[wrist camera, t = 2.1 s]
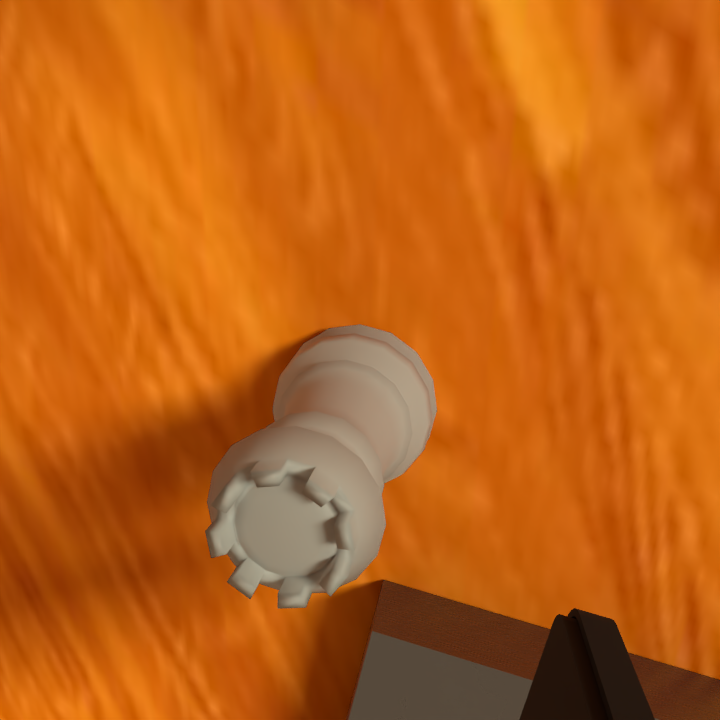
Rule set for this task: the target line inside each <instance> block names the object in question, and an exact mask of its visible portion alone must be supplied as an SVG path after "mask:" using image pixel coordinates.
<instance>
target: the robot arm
mask: <svg viewBox="0 0 720 720" xmlns="http://www.w3.org/2000/svg"><path fill="white" fill-rule="evenodd" d="M519 720H655V718H654V716H653V713H652V711H651V708H650V706H649V704H648V701H647V699H646V696H645V694H644V691H643V689H642V686H641V684H640V681H639V679H638V676H637V674H636V672H635V669H634V667H633V664H632V662H631V659H630V657H629V654H628V652H627V649H626V647H625V645H624V642H623V640H622V637H621V635H620V632H619V630H618V627H617V625H616V623H615V622H614V620H612V619H610V618H606V617H603V616H599V615H596V614H592V613H589V612H585V611H582V610H579V609H575V608H574V609H573V610H571V612H570V613H569V614H568V617H567V616H563V615H560V614H559V615H557V616H556V618H555V619H554V622H553V624H552V627H551V630H550V633H549V636H548V639H547V641H546V644H545V647H544V650H543V653H542V656H541V659H540V662H539V664H538V667H537V670H536V673H535V676H534V679H533V682H532V684H531V687H530V690H529V693H528V696H527V699H526V702H525V704H524V707H523V710H522V713H521V716H520V719H519Z"/></svg>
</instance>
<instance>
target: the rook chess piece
mask: <svg viewBox="0 0 720 720" xmlns="http://www.w3.org/2000/svg"><path fill="white" fill-rule="evenodd" d="M436 412H437V407H436V399H435V392H434V384H433V379H432V377H431V376H430V374H429V372H428V371H427V369H426V367H425V366H424V364H423V362H422V360H421V359H420V357H419V355H418V354H417V352H415V351H414V350H413V349H412V348H410V347H409V346H408V345H406V344H405V343H404V342H402V341H401V340H400V339H398V338H397V337H396V336H394V335H393V334H392V333H389V332H386V331H382V330H378V329H375V328H371V327H367V326H364V325H353V326H345V327H337V328H329V329H327V330H326V331H324V332H322V333H321V334H319V335H317V336H315V337H314V338H312V339H310V340H309V341H307V342H305V343H303V345H302V346H301V347H300V349H299V350H298V352H297V353H296V354H295V355H294V357H293V358H292V360H291V361H290V362H289V364H288V365H287V367H286V368H285V369H284V371H283V372H282V373H281V375H280V376H279V380H278V385H277V389H276V394H275V399H274V403H273V415H274V420H275V422H273V423H272V424H270V425H268V426H267V427H266V428H265V429H260V430H259V431H257V432H255V433H253V434H251V435H249V436H248V437H246V438H244V439H242V440H240V441H239V442H237V443H235V444H233V445H232V446H231V447H230V448H229V450H228V451H227V453H226V454H225V455H224V457H223V458H222V459H221V461H220V462H219V464H218V465H217V466H216V468H215V469H214V470H213V474H212V479H211V485H210V490H209V495H208V500H207V504H208V508H209V513H210V518H211V522H212V524H211V525H210V526H209V527H208V529H207V530H206V531H205V533H206V537H207V542H208V546H209V551H210V555H211V558H213V557H217V556H221V555H225V554H228V556H229V557H230V559H231V560H232V562H233V563H234V564H235V565H236V569H235V570H234V572H233V573H232V575H231V576H230V578H229V579H228V581H227V582H228V583H229V584H231V585H232V586H233V587H234V588H236V589H237V590H238V591H240V592H241V593H242V594H244V595H245V596H246V597H248V598H249V599H251V597H252V595H253V593H254V592H255V590H256V588H257V586H258V584H262V585H265V586H268V587H271V588H274V589H277V590H279V592H278V608H306V606H307V604H308V601H309V599H310V596H311V594H312V593H328V594H329V596H330V597H331V595H332V594H333V593H334V592H335V591H336V590H337V589H338V587H340V586H342V585H344V584H347V583H349V582H351V581H353V580H356V579H357V578H358V576H359V575H360V574H361V573H362V572H363V571H364V570H365V569H366V567H367V566H368V565H369V564H370V563H371V562H372V561H373V560H374V558H375V557H376V556H377V554H378V551H379V547H380V544H381V540H382V537H383V533H384V530H385V526H386V521H385V514H384V508H383V501H382V492H383V488H384V483H386V482H388V481H390V480H392V479H394V478H396V477H398V476H400V475H402V474H403V473H404V472H405V471H406V470H407V469H408V468H409V467H410V466H411V464H412V463H413V462H414V461H415V460H416V459H417V457H418V456H419V455H420V454H421V453H422V452H423V450H424V449H425V445H426V442H427V440H428V439H429V436H430V432H431V429H432V425H433V422H434V419H435V415H436Z"/></svg>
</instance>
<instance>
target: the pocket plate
mask: <svg viewBox="0 0 720 720" xmlns="http://www.w3.org/2000/svg"><path fill="white" fill-rule="evenodd" d="M549 633H550V629H546V628H543V627H540V626H536V625H533V624H530V623H526V622H523V621H520V620H516V619H513V618H510V617H506V616H503V615H499V614H496V613H493V612H489V611H486V610H483V609H479V608H476V607H473V606H469V605H466V604H463V603H459V602H456V601H453V600H449V599H446V598H443V597H439V596H436V595H433V594H429V593H426V592H422V591H419V590H416V589H412V588H409V587H406V586H402V585H399V584H396V583H392V582H389V581H386V580H383V584H382V587H381V591H380V595H379V599H378V602H377V606H376V610H375V614H374V617H373V621H372V625H371V628H370V632H369V636H368V640H367V643H366V647H365V651H364V655H363V658H362V662H361V666H360V670H359V673H358V677H357V681H356V684H355V688H354V692H353V696H352V699H351V703H350V707H349V711H348V714H347V718H346V720H519V719H520V716H521V713H522V710H523V707H524V704H525V702H526V699H527V696H528V693H529V690H530V687H531V684H532V682H533V679H534V676H535V673H536V670H537V667H538V664H539V662H540V659H541V656H542V653H543V650H544V647H545V644H546V641H547V639H548V636H549ZM628 654H629V657H630V659H631V662H632V664H633V667H634V669H635V672H636V674H637V676H638V679H639V681H640V684H641V686H642V689H643V691H644V694H645V696H646V699H647V701H648V704H649V706H650V708H651V711H652V713H653V716H654V718H655V720H720V680H717V679H714V678H710V677H707V676H704V675H700V674H697V673H694V672H690V671H687V670H684V669H680V668H677V667H674V666H670V665H667V664H664V663H660V662H657V661H653V660H650V659H647V658H643V657H640V656H637V655H633V654H630V653H628Z"/></svg>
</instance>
